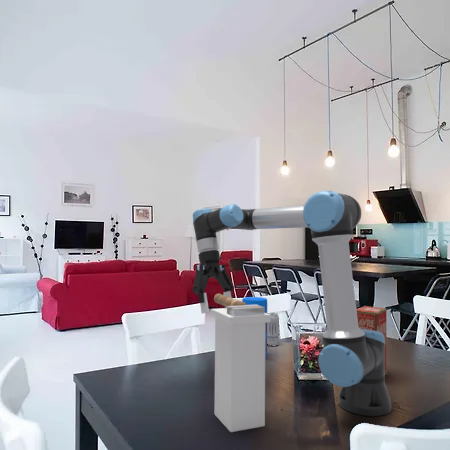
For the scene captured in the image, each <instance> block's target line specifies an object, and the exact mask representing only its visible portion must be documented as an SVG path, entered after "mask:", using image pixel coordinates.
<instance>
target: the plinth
mask: <svg viewBox="0 0 450 450" xmlns="http://www.w3.org/2000/svg"><path fill="white" fill-rule="evenodd" d="M210 317H212V318H214V320H215V321H214V324H215V325H214V327H215V329H214V330H215V331H214V332H215V333H214V415H215V417H216V418H218V420H219V421H220V422H221V423H222V424H223V425H224V427H226V429H227V430H228V431H229V432H230V433H234V432H235V433H236V432H239V431H240V432H241V431H246V430H249V429H250V430H251V429H256V428H261V427H265V426H266V425H265V424H266V418H265V417H266V413H265V412H266V359H265V323H266V322H270V314H268V312H267V313H265V315H253V316H238V317H234V316H231V315H229V314H227V308H226V307H224V308H223V307H222V308H221V307H220V308H211V309H210Z"/></svg>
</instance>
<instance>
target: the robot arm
mask: <svg viewBox="0 0 450 450" xmlns="http://www.w3.org/2000/svg"><path fill="white" fill-rule="evenodd" d="M361 217H362V208H361V205H360V203H359V202H358V201H357V199H355V198H354V197H353V196H351V195H348V194H344V193H339V192H336V191H333V190H321V191H317V192H315V193H313V194H312V195H310V196H309V198H308V199H307V201H305V203H304V205H292V206H291V205H289V206H278V207H277V206H276V207H265V208H249V209H248V208H247V209H246V208H245V209H244V208H241V207H240V206H238V205H237V204H235V203H231V204H229V205H225V206H223V207H220V208H217V209H216V210H214V211H213V210H212V209H211V208H205V207H204V208H201V209H196V210H194V211H193V213H192V225H193V229H194V234H195V241H196V247H197V248H196V249H197V252H198V261H199V264H197V265H195V275H194V281H193V284H192V285H193V286H192V292H193V293H194V294H195V295H197V297H198V303H199V305H200V312H201V314H207V313H209V312H210V309H209V303H208V295H207V292H205V290H206V287H208V283H209V280H210V278H212V279H214V280H216V281H217V282H218V284H219V285H220V288H221V289H222V290H223V291H224V292H223V294H222V295H225V296H227V297H230V298H233V296H232V291H234V290H235V285H234V283H233V282H232V280H231V278H230V276H229V274H228V271H227V268H226V265H225V264H221V265H220V263H219V262H221V255H220V254H221V253H220V250H219V249H220V247H219V242H218V237H217V233H219V232H222V231H225V230H246V231H253V230H269V229H270V230H272V229H273V230H274V229H301V228H309V229H310V232H311V233H310V234H311V240H312V242H314V243H315V244H316V245H317V247H318V255H319V258H318V259H319V264H320V266H319V267H320V276H321V284H322V285H321V286H322V294H323V295H322V296H323V302H324V313H325V322H326V330H325V331H324V332H323V333H322V344H323V348H322V349H321V351H319V355H318V362H317V363H318V367H319V369H320V372H321V374H322V375H323V377H324V378H325V379H327V381H329V382H330V383H331V384H332V385H335V386H337V387H339V388H340V391H339V394H338V405H339V407H341V408H342V409H343V410H345V411H347V412H350V413H352V414H355V415H358V416H367V417H368V416H369V417H380V416H386V415H388V414H390V413H391V412H392V400H391V397H390V395H389V391H388V387H387V385H386V382H385V381H386V380H385V379H386V376H385V340H384V335H383V334H382V333H381V332H378V331H373V330H366V329H360V328H359V327H358V319H357V311H356V309H357V305H356V296H355V295H356V294H355V287H354V279H353V269H352V260H351V252H350V244H349V243H350V241H351V239H352V238H353V237H354V230H353V229H355V228H356V227H357V226H358V225H359V223H360V221H361ZM225 308H227V307H226V306H225Z"/></svg>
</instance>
